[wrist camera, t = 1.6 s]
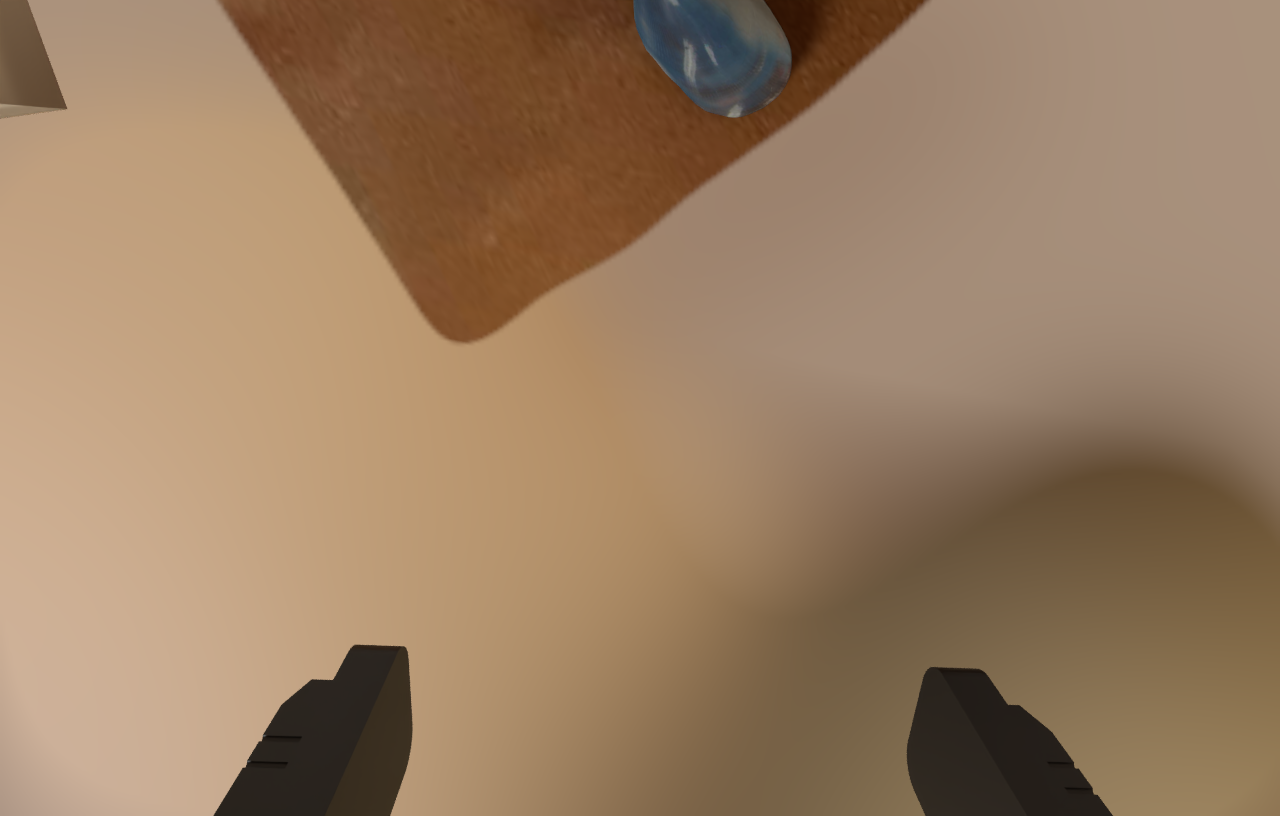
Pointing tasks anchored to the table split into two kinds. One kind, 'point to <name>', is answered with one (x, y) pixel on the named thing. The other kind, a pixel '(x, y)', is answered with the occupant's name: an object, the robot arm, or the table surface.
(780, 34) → the blue rounded lump
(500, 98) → the table surface
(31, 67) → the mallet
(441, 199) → the table surface
